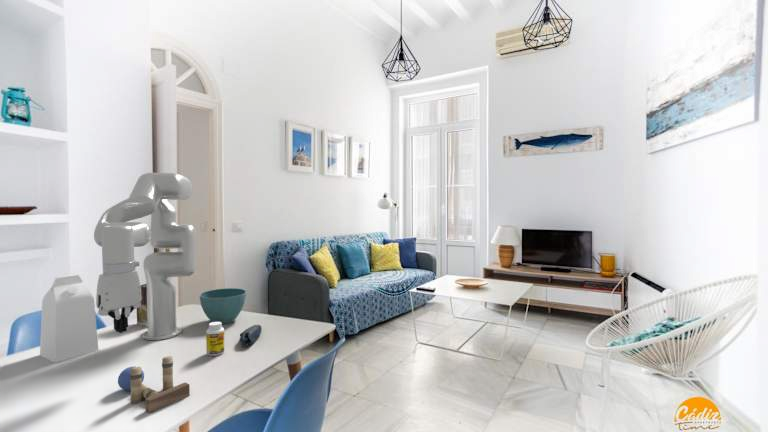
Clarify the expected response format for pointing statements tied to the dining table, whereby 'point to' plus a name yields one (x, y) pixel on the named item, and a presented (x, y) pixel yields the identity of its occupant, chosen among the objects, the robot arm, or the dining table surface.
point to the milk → (68, 320)
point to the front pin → (147, 392)
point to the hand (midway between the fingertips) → (121, 331)
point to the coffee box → (142, 307)
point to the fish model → (250, 335)
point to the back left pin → (167, 372)
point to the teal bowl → (223, 304)
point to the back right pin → (136, 385)
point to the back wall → (167, 397)
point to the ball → (126, 379)
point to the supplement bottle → (215, 339)
